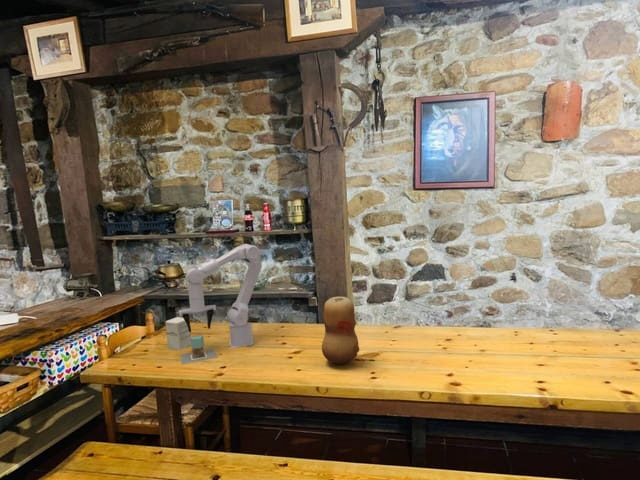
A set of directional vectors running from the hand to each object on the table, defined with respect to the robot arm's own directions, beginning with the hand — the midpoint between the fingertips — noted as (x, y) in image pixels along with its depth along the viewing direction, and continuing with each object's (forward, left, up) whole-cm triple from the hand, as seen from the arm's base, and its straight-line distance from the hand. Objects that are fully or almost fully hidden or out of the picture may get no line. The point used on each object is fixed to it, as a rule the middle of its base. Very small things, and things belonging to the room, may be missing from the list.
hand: (199, 329), depth 174 cm
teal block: (+2, +4, -6) cm, 7 cm away
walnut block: (+2, +4, -10) cm, 10 cm away
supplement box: (+8, -12, -11) cm, 18 cm away
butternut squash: (-46, +38, -11) cm, 61 cm away
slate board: (+2, +4, -10) cm, 11 cm away
